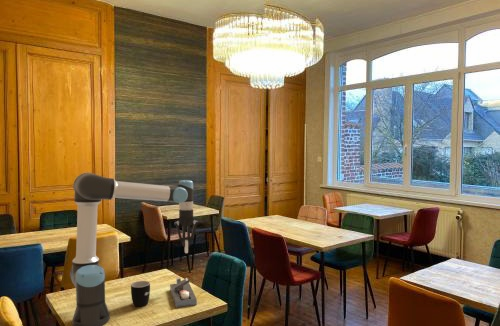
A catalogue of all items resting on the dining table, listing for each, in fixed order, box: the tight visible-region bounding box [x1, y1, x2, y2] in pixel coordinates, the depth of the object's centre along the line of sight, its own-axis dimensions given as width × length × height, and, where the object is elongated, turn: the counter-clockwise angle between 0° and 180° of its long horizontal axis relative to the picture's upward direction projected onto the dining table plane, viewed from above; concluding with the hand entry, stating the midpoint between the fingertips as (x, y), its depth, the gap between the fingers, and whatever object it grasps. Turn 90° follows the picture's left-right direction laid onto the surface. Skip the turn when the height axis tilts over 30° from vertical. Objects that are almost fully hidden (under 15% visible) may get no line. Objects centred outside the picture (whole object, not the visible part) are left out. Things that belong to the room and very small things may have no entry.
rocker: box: [174, 277, 190, 290], centre depth 195 cm, size 8×4×1 cm, turn 108°
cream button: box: [181, 291, 189, 300], centre depth 183 cm, size 4×4×3 cm
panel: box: [169, 282, 198, 308], centre depth 191 cm, size 10×24×5 cm, turn 18°
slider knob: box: [175, 276, 182, 284], centre depth 201 cm, size 2×3×3 cm, turn 18°
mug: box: [130, 280, 151, 308], centre depth 184 cm, size 12×9×10 cm
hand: (186, 252), depth 203 cm, fingers closed
